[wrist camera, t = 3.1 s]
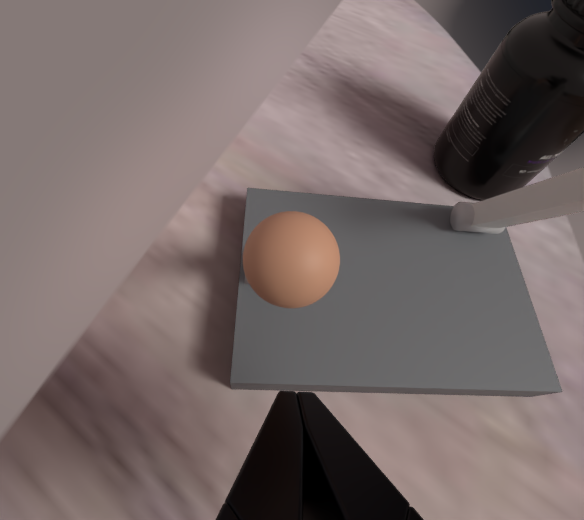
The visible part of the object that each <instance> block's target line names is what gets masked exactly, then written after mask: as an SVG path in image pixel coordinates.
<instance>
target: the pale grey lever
mask: <svg viewBox="0 0 584 520" xmlns="http://www.w3.org/2000/svg"><path fill="white" fill-rule="evenodd" d="M579 212H584V167H583V168H580V169H577V170H574V171H571V172H568V173H564V174H561V175H559V176H556V177H552V178H549V179H546V180H543V181H540V182H537V183H534V184H531V185H528V186H525V187H522V188H519V189H516V190H513V191H510V192H507V193H504V194H501V195H498V196H495V197H492V198H489V199H486V200H483V201H480V202H477V203H468V202H458V203H457V204H456V205H455V206H454V207H453V209H452V212H451V216H450V223H451V226H452V228H453V229H454V230H456V231H467V232H479V233H492V234H499V233H501V232H502V231H504V229H505V228H506V227H508V226H513V225H518V224H523V223H528V222H533V221H538V220H543V219H548V218H553V217H559V216H564V215H569V214H573V213H579Z"/></svg>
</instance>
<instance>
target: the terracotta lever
mask: <svg viewBox="0 0 584 520" xmlns="http://www.w3.org/2000/svg"><path fill="white" fill-rule="evenodd" d="M339 266H340V253H339V248H338V244H337V242H336V239H335V237H334V236H333V234H332V232H331V231H330V230H329V228H328V227H327V226H326V225H325V224H324V223H323V222H321V221H320V220H319V219H317V218H315V217H314V216H311V215H309V214H306V213H303V212H297V211H286V212H280V213H276V214H274V215H271V216H269V217H267V218H266V219H264V220H263V221H261V222H260V223H259V224H258V225H257V226H256V227H255V228H254V229H253V231H252V232H251V234H250V235H249V237H248V239H247V241H246V244H245V247H244V252H243V268H244V272H245V284H250V286H251V288H252V289H253V290H254V291H255V293H256V294H257V295H258V296H259V297H261V298H262V299H263V300H265V301H267V302H268V303H270V304H273V305H275V306H279V307H282V308H300V307H305V306H308V305H310V304H313V303H315V302H316V301H318V300H319V299H321V298H322V297H323V296H324V295H325V294H326V293H327V292H328V291H329V290H330V288H331V287H332V286H333V284H334V282H335V280H336V278H337V275H338V271H339Z"/></svg>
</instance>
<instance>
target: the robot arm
mask: <svg viewBox="0 0 584 520" xmlns="http://www.w3.org/2000/svg"><path fill="white" fill-rule="evenodd" d="M409 506H410V504H409V502H408V501H407V500H406V499H405V498H404V497H403V495H402V494H401V493H400V492H399V491H398V490H397V488H396V487H395V486H394V485H393V484H392V483H391V482H390V480H389V479H388V478H387V477H386V476H385V475H384V473H383V472H382V471H381V470H380V469H379V468H378V466H377V465H376V464H375V463H374V462H373V461H372V460H371V458H370V457H369V456H368V455H367V454H366V453H365V451H364V450H363V449H362V448H361V447H360V446H359V444H358V443H357V442H356V441H355V440H354V439H353V438H352V436H351V435H350V434H349V433H348V432H347V431H346V429H345V428H344V427H343V426H342V425H341V424H340V422H339V421H338V420H337V419H336V418H335V417H334V416H333V414H332V413H331V412H330V411H329V410H328V409H327V407H326V406H325V405H324V404H323V403H322V402H321V400H320V399H319V398H318V397H317V396H316V395H315V394H314V393H312V392H298V393H297V394H296V393H295V392H294V391H279V393H278V394H277V396H276V398H275V400H274V402H273V405H272V407H271V409H270V411H269V413H268V415H267V417H266V419H265V421H264V423H263V425H262V427H261V429H260V431H259V433H258V435H257V437H256V439H255V441H254V443H253V445H252V447H251V449H250V451H249V453H248V455H247V457H246V459H245V461H244V463H243V466H242V468H241V470H240V472H239V474H238V476H237V478H236V480H235V482H234V484H233V486H232V488H231V490H230V492H229V494H228V496H227V498H226V500H225V503H224V504H223V506H222V508H221V510H220V512H219V514H218V516H217V518H216V520H424V519H423V518H422V517H421V516H420V515H419V514H418V513H417V511H416V510H415V509H414V508H413V507H409Z"/></svg>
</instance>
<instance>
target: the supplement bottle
mask: <svg viewBox="0 0 584 520" xmlns="http://www.w3.org/2000/svg"><path fill="white" fill-rule="evenodd" d="M551 3H552V7H553V8H552V9H551V11H547V12H542V13H538V14H534V15H531V16H529V17H527V18H525V19H523V20H522V21H521V22H519V23H517V24H516V25H515V26H514V27H513V28H512V29H511V30H510V31H509V32H508V33H507V35H506V36H505V38H504V39H503V40H502V42H501V43H500V45H499V46H498V48H497V50H496V51H495V53H494V54H493V56H492V57H491V59H490V60H489V62H488V63H487V65H486V66H485V68H484V69H483V71H482V72H481V74H480V75H479V77H478V78H477V80H476V81H475V83H474V84H473V86H472V88H471V89H470V91H469V92H468V94H467V95H466V97H465V98H464V100H463V101H462V103H461V104H460V106H459V107H458V109H457V110H456V112H455V113H454V115H453V116H452V118H451V119H450V121H449V123H448V124H447V126H446V127H445V129H444V130H443V132H442V133H441V135H440V137H439V138H438V140H437V142H436V144H435V147H434V161H435V164H436V167H437V169H438V171H439V172H440V174H441V175H442V177H443V178H444V179H445V180H446V181H447V182H448V183H449V184H450V185H451V186H452V187H454V188H455V189H456V190H458V191H460V192H461V193H463V194H465V195H467V196H470V197H473V198H476V199H480V200H486V199H489V198H492V197H495V196H498V195H501V194H504V193H507V192H510V191H513V190H516V189H519V188H522V187H524V186H525V185H526V184H527V183H528V182H530V181H531V180H532V179H533V178H534V177H535V176H536V175H537V174H538V173H540V172H541V171H542V170H543V169H544V168H545V167H546V166H547V165H548V164H549V163H551V162H552V161H553V160H554V159H555V158H556V157H557V156H558V155H559V154H561V153H562V152H563V151H564V150H565V149H566V148H567V147H568V146H569V145H571V143H573V142H574V141H575V140H576V139H577V138H578V137H579V136H581V135H582V134H583V133H584V0H552V1H551Z"/></svg>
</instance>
